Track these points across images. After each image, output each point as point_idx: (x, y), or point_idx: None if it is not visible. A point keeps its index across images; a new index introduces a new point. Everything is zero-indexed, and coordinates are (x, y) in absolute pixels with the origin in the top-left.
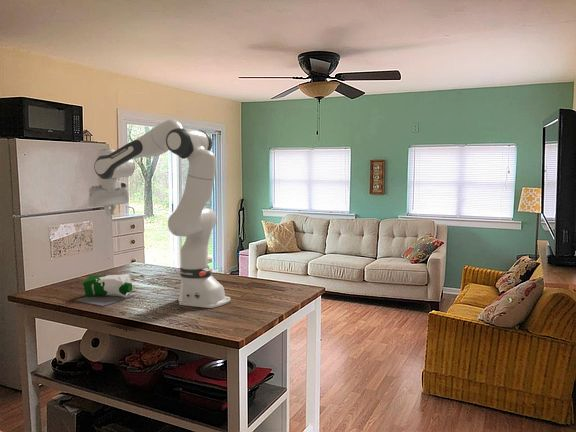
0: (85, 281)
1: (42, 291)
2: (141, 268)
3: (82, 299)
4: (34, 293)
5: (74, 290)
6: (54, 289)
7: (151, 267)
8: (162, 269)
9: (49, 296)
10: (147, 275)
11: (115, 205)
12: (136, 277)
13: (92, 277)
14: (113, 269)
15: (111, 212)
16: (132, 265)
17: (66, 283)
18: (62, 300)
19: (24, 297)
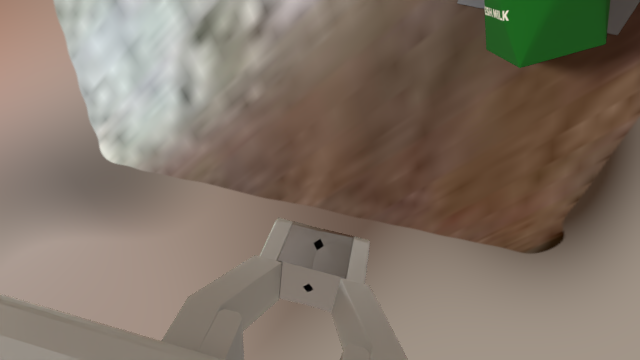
0: (598, 37)
1: (479, 214)
2: (136, 103)
3: (612, 8)
4: (504, 221)
5: (455, 136)
6: (452, 198)
7: (106, 78)
8: (94, 15)
9: (541, 164)
10: (187, 11)
11: (173, 328)
12: (231, 36)
13: (564, 27)
14: (197, 177)
15: (315, 252)
16: (132, 154)
17: (380, 205)
18: (602, 90)
19: (553, 221)
